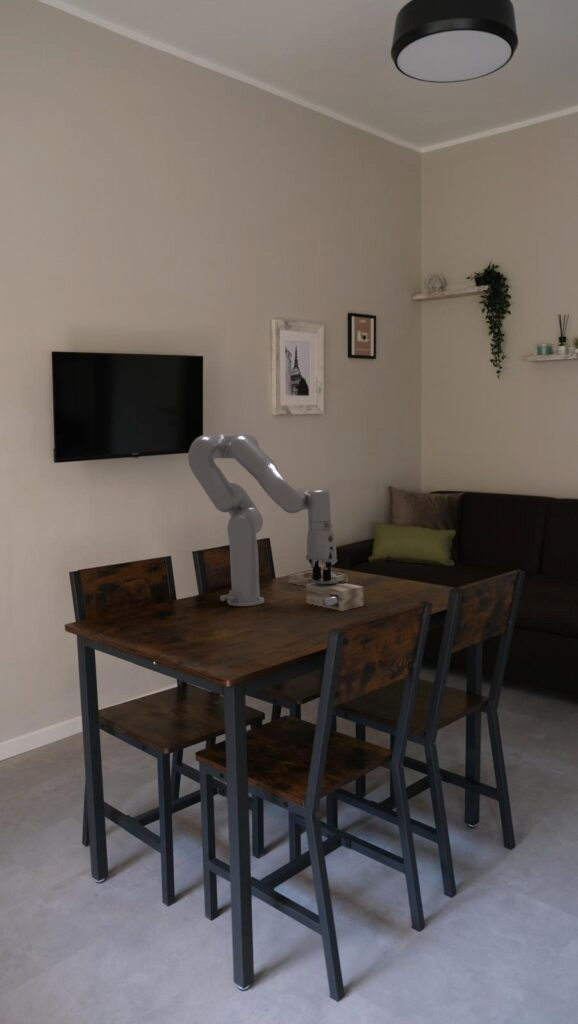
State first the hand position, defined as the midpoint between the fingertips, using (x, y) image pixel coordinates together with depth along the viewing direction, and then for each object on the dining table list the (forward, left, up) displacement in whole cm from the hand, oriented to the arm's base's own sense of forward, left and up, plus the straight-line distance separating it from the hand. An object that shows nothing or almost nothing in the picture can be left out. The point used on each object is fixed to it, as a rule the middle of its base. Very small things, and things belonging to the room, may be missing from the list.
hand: (322, 579), depth 279 cm
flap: (+2, +1, -1) cm, 2 cm away
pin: (+1, -8, -8) cm, 11 cm away
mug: (+27, +26, -9) cm, 38 cm away
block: (+2, -3, -8) cm, 9 cm away
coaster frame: (+24, +28, -8) cm, 38 cm away
